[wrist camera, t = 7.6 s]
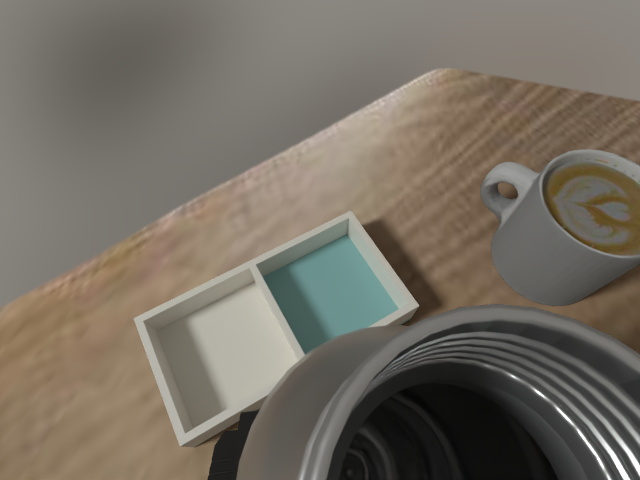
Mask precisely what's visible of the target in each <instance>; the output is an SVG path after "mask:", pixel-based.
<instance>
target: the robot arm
mask: <svg viewBox="0 0 640 480" xmlns="http://www.w3.org/2000/svg"><path fill="white" fill-rule="evenodd" d="M259 411H260V410H254V411H245V412H241V414H240V419H239V426H238V430H234V431H226V432H224V433H223V435H222V436H221V437H220V439H219V440H218V442H217V443H216V445H215V447H214V452H213V457H212V463H211V466H210V471H209V476H208V480H236V478H237V472H238V466H239V461H240V458H241V455H242V452H243V449H244V446H245V443H246V440H247V437H248V434H249V431H250V428H251V425H252V423H253V422H254V420H255V418H256V416H257V414H258V412H259Z"/></svg>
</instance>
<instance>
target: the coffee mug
mask: <svg viewBox="0 0 640 480" xmlns="http://www.w3.org/2000/svg"><path fill="white" fill-rule="evenodd" d="M501 182H505V183H509V184H512V185H513V186H514V187H515V188H516V189H517V192H518V198H516V199H507V198H505V197H504V196H502V195H501V194H500V193H499V191H498V188H497V187H498V184H499V183H501ZM480 192H481V198H482V201H483V202H484V204H485V205H486V206H487V208H488V209H490V210H491V211H492V212H493V213H494V214H495V215H496V216H497V217H498V219H499V227H498V229H497V230H496V232H495V234H494V236H493V239H492V243H491V252H492V258H493V261H494V265H495V267H496V269H497V271H498V272H499V274H500V276H501V277H502V278H503V280H504V281H505V282H506V283H507V284H508V285H509V286H510V287H511V288H512V289H513V290H515V291H516V292H517V293H519V294H520V295H522V296H524V297H525V298H527V299H529V300H532V301H534V302H537V303H540V304H544V305H549V306H564V305H570V304H573V303H576V302H578V301H580V300H582V299H583V298H585V297H587V296H588V295H590V294H592V293H593V292H595V291H597V290H598V289H600V288H602V287H603V286H605V285H606V284H608V283H610V282H611V281H613V280H615V279H616V278H618V277H620V276H621V275H623V274H625V273H626V272H628V271H630V270H631V269H633V268H635V267H636V266H638V265H639V264H640V166H639V165H638V164H636V163H634V162H632V161H630V160H629V159H626V158H624V157H621V156H619V155H616V154H613V153H609V152H605V151H600V150H587V149H584V150H575V151H569V152H566V153H563V154H561V155H559V156H557V157H555V158H554V159H553V160H551V161H550V162H549V163H548V164H547V165H546V166H545V167H544V169H543V170H542V171H541V172H540V173H536V172H534V171H532V170H531V169H529V168H527V167H525V166H523V165H521V164H518V163H514V162H504V163H501V164H499V165H497V166H496V167H494V168H493V169H492V170H491V171H490V172H489V173H488V175H487V176H486V178H485V179H484V181H483V183H482V186H481V191H480Z"/></svg>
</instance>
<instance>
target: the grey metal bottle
mask: <svg viewBox="0 0 640 480" xmlns="http://www.w3.org/2000/svg"><path fill="white" fill-rule="evenodd" d="M236 480H640V354H639V353H637V352H636V351H634V350H633V349H631V348H630V347H628V346H626V345H625V344H623V343H622V342H620V341H619V340H617V339H616V338H614V337H612V336H610V335H608V334H606V333H603V332H601V331H599V330H597V329H595V328H593V327H591V326H588V325H586V324H584V323H582V322H580V321H578V320H576V319H573V318H569V317H566V316H562V315H559V314H555V313H552V312H548V311H545V310H541V309H538V308H533V307H522V306H512V305H502V304H490V305H480V306H470V307H460V308H456V309H453V310H450V311H447V312H444V313H441V314H438V315H434V316H431V317H428V318H425V319H423V320H421V321H419V322H417V323H415V324H413V325H412V326H403V325H387V326H377V327H367V328H361V329H358V330H354V331H351V332H348V333H345V334H342V335H339V336H336V337H334V338H332V339H330V340H328V341H327V342H325V343H323V344H321V345H319V346H318V347H316V348H314V349H312V350H311V351H309V352H308V353H307V354H306V355H305V356H304V357H302V358H301V359H300V360H299V361H298V362H297V363H295V364H294V365H293V366H292V367H291V368H290V369H288V370H287V372H286V373H285V374H284V375H283V377H282V378H281V379H280V380H279V382H278V383H277V384H276V385H275V387H274V388H273V389H272V390H271V392H270V393H269V394H268V396H267V398H266V399H265V401H264V403H263V405H262V407H261V409H260V411H259V412H258V414H257V416H256V418H255V420H254V422H253V423H252V425H251V428H250V431H249V434H248V437H247V440H246V443H245V446H244V449H243V452H242V455H241V458H240V461H239V466H238V472H237V478H236Z"/></svg>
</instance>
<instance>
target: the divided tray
mask: <svg viewBox="0 0 640 480" xmlns="http://www.w3.org/2000/svg"><path fill="white" fill-rule="evenodd" d="M418 307H419V305H418V303H417V302H416V301H415V299H414V298H413V296H412V295H411V294H410V292H409V291H408V289H407V288H406V287H405V285H404V284H403V282H402V281H401V280H400V278H399V277H398V275H397V274H396V273H395V271H394V270H393V269H392V267H391V266H390V264H389V263H388V262H387V260H386V259H385V257H384V256H383V255H382V253H381V252H380V250H379V249H378V248H377V246H376V245H375V243H374V242H373V241H372V239H371V238H370V237H369V235H368V234H367V232H366V231H365V230H364V228H363V227H362V225H361V224H360V223H359V221H358V220H357V218H356V217H355V216H354V214H353V213H352V211H349V212H347V213H345V214H343V215H341V216H339V217H337V218H335V219H333V220H331V221H329V222H327V223H325V224H323V225H321V226H319V227H317V228H315V229H313V230H311V231H309V232H307V233H305V234H303V235H301V236H299V237H297V238H295V239H292V240H290V241H288V242H286V243H284V244H282V245H280V246H278V247H276V248H274V249H272V250H270V251H268V252H266V253H264V254H262V255H260V256H258V257H256V258H254V259H252V260H250V261H248V262H246V263H244V264H242V265H240V266H238V267H236V268H234V269H232V270H230V271H228V272H226V273H224V274H222V275H220V276H218V277H216V278H214V279H212V280H210V281H208V282H206V283H204V284H202V285H200V286H198V287H196V288H194V289H192V290H190V291H188V292H186V293H184V294H182V295H180V296H178V297H176V298H174V299H172V300H170V301H168V302H166V303H164V304H162V305H160V306H158V307H156V308H154V309H151V310H149V311H147V312H145V313H143V314H141V315H139V316H137V317H135V318H134V321H135V323H136V326H137V329H138V332H139V335H140V337H141V340H142V343H143V346H144V348H145V351H146V354H147V357H148V359H149V362H150V365H151V368H152V370H153V373H154V376H155V379H156V381H157V384H158V387H159V390H160V392H161V395H162V398H163V401H164V404H165V406H166V409H167V412H168V415H169V417H170V420H171V423H172V426H173V428H174V431H175V434H176V437H177V439H178V442H179V445H180V446H182V447H196V446H197V445H199V444H201V443H203V442H204V441H206V440H208V439H209V438H211V437H213V436H214V435H216V434H218V433H219V432H221V431H223V430H224V429H226V428H228V427H230V426H231V425H233V424H235V423H236V422H238V421H239V419H240V414H241V412H245V411H254V410H258V409H260V408H261V407H262V405H263V403H264V401H265V399H266V398H267V396H268V394H269V393H270V392H271V390H272V389H273V388H274V387H275V385H276V384H277V383H278V382H279V380H280V379H281V378H282V377H283V375H284V374H285V373H286V372H287V370H288V369H290V368H291V367H292V366H293V365H294V364H295V363H297V362H298V361H299V360H300V359H301V358H302V357H304V356H305V355H306V354H307V353H308V352H309V351H311V350H312V349H314V348H316V347H318V346H319V345H321V344H323V343H325V342H327V341H328V340H330V339H332V338H334V337H336V336H339V335H342V334H345V333H348V332H351V331H354V330H358V329H361V328H367V327H377V326H387V325H401V324H403V323H405V322H407V321H408V320H410V319H411V318H412V316H413V315H414V313H415V312H416V310H417V309H418Z"/></svg>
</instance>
